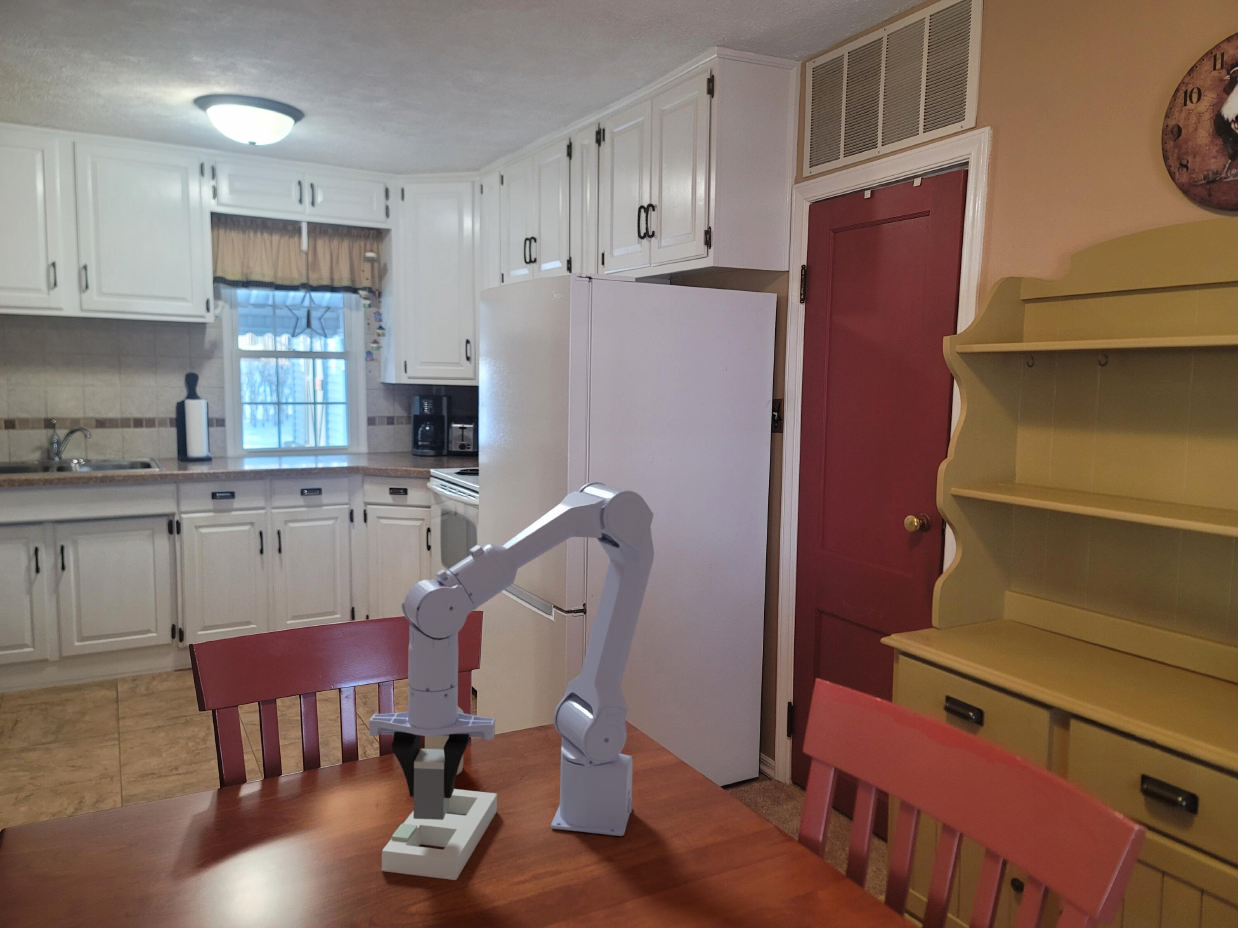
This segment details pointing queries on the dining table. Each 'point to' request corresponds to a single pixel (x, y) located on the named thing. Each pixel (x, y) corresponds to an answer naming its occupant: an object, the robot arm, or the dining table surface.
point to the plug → (430, 785)
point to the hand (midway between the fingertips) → (431, 793)
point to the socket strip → (441, 837)
